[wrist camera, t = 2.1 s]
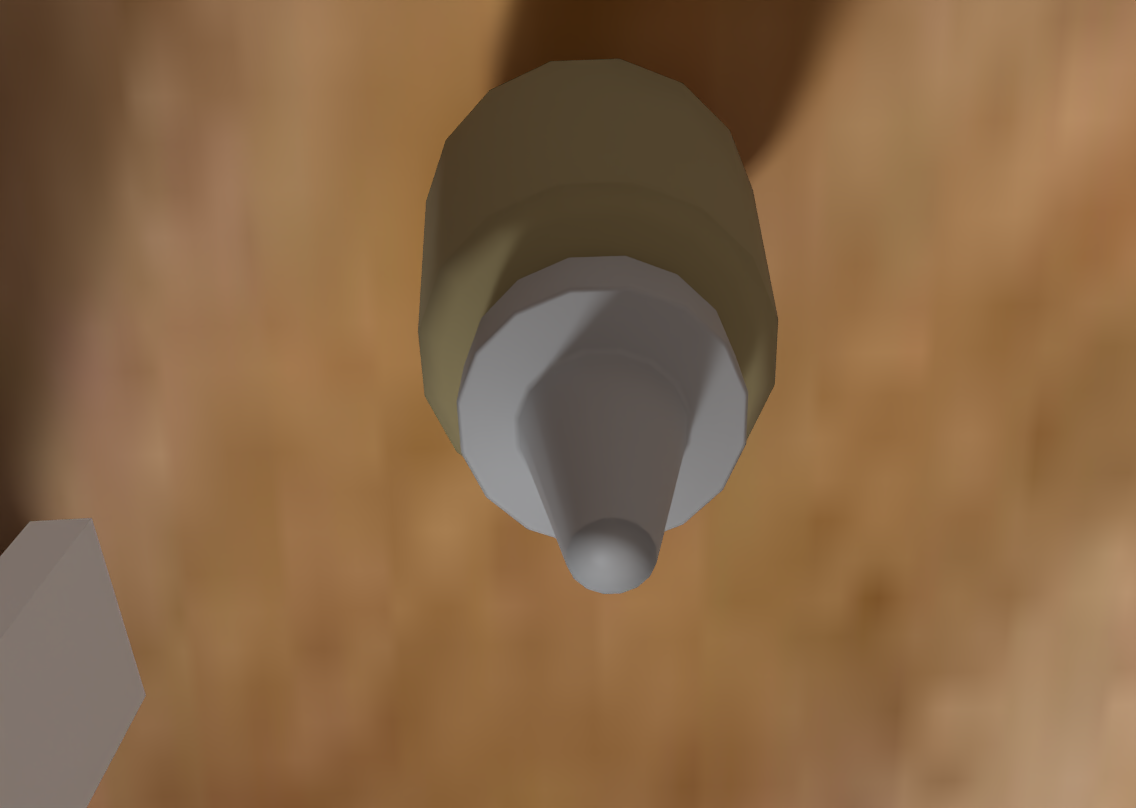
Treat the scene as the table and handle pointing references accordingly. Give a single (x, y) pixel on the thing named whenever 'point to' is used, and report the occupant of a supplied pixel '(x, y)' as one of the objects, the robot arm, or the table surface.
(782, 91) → the table surface
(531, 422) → the squeeze bottle
